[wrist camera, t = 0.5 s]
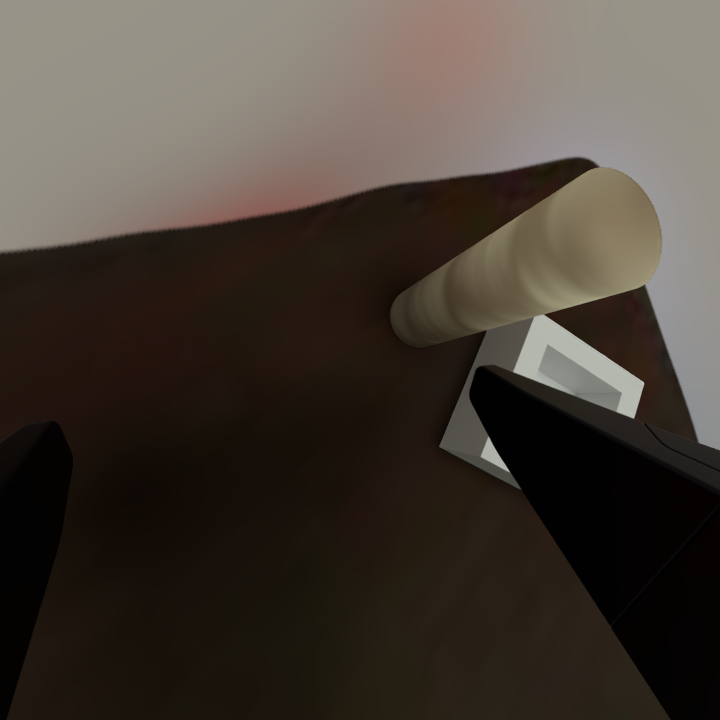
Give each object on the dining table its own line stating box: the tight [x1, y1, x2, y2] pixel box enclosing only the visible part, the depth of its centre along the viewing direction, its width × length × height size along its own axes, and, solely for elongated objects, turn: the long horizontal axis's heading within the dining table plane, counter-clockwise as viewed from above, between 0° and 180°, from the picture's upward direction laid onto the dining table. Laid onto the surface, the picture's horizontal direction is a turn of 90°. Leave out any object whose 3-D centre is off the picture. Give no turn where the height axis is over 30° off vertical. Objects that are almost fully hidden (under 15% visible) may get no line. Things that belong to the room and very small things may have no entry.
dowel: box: [390, 167, 662, 348], centre depth 19 cm, size 4×4×14 cm
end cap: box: [439, 315, 644, 490], centre depth 25 cm, size 9×9×4 cm
